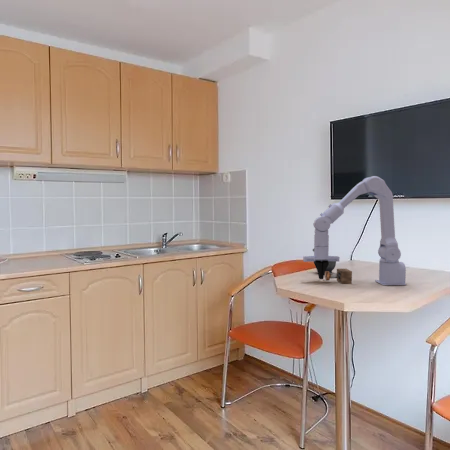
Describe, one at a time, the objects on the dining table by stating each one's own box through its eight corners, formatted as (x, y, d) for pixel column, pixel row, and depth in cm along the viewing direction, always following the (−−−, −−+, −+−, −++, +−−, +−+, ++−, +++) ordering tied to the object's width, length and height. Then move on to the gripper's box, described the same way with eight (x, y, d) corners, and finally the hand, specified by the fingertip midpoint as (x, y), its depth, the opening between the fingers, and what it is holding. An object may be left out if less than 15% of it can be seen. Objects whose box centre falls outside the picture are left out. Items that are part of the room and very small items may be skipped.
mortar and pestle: (339, 273, 182) (339, 247, 181) (332, 276, 174) (332, 249, 173) (316, 270, 188) (316, 246, 188) (308, 273, 181) (308, 248, 180)
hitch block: (346, 280, 165) (346, 268, 165) (351, 283, 158) (352, 271, 158) (336, 280, 165) (336, 268, 165) (342, 283, 158) (342, 271, 158)
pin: (339, 279, 164) (339, 270, 163) (341, 281, 160) (342, 272, 160) (324, 279, 163) (324, 270, 163) (327, 281, 160) (327, 272, 159)
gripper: (335, 244, 165) (335, 276, 166) (301, 245, 165) (301, 277, 165) (341, 246, 158) (340, 280, 159) (305, 246, 157) (305, 280, 158)
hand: (321, 278), depth 161 cm, fingers closed
